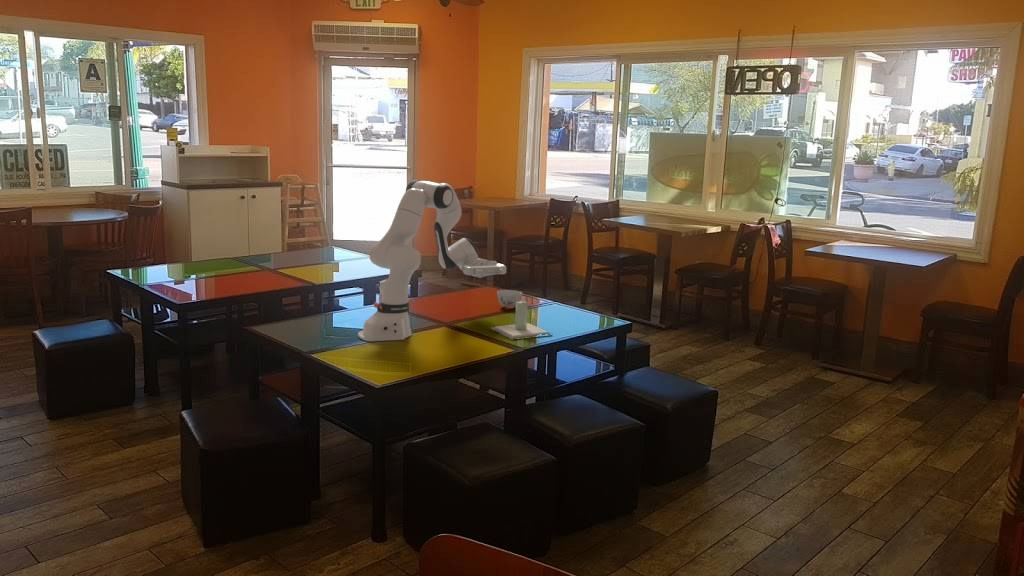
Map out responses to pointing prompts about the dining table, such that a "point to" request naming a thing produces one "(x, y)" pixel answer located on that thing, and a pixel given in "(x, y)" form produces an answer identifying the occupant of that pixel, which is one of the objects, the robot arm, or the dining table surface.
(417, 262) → the robot arm
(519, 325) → the grey upright block
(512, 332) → the tile
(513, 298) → the teacup
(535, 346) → the dining table surface
